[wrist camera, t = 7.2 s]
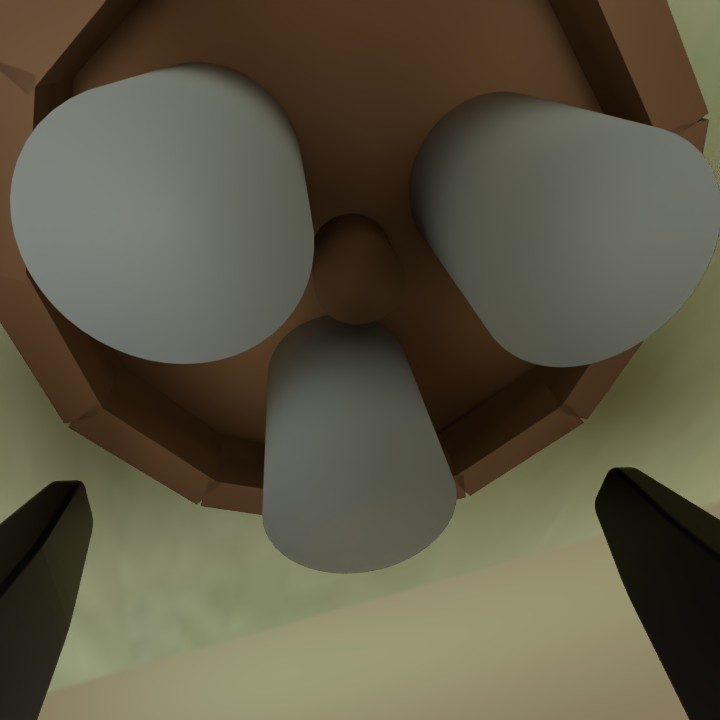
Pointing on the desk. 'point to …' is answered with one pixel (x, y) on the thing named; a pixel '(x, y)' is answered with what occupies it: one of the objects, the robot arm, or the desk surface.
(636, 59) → the walnut tray
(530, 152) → the seated bead
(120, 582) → the desk surface
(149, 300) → the seated bead
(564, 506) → the desk surface
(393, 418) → the bead loose
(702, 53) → the desk surface
